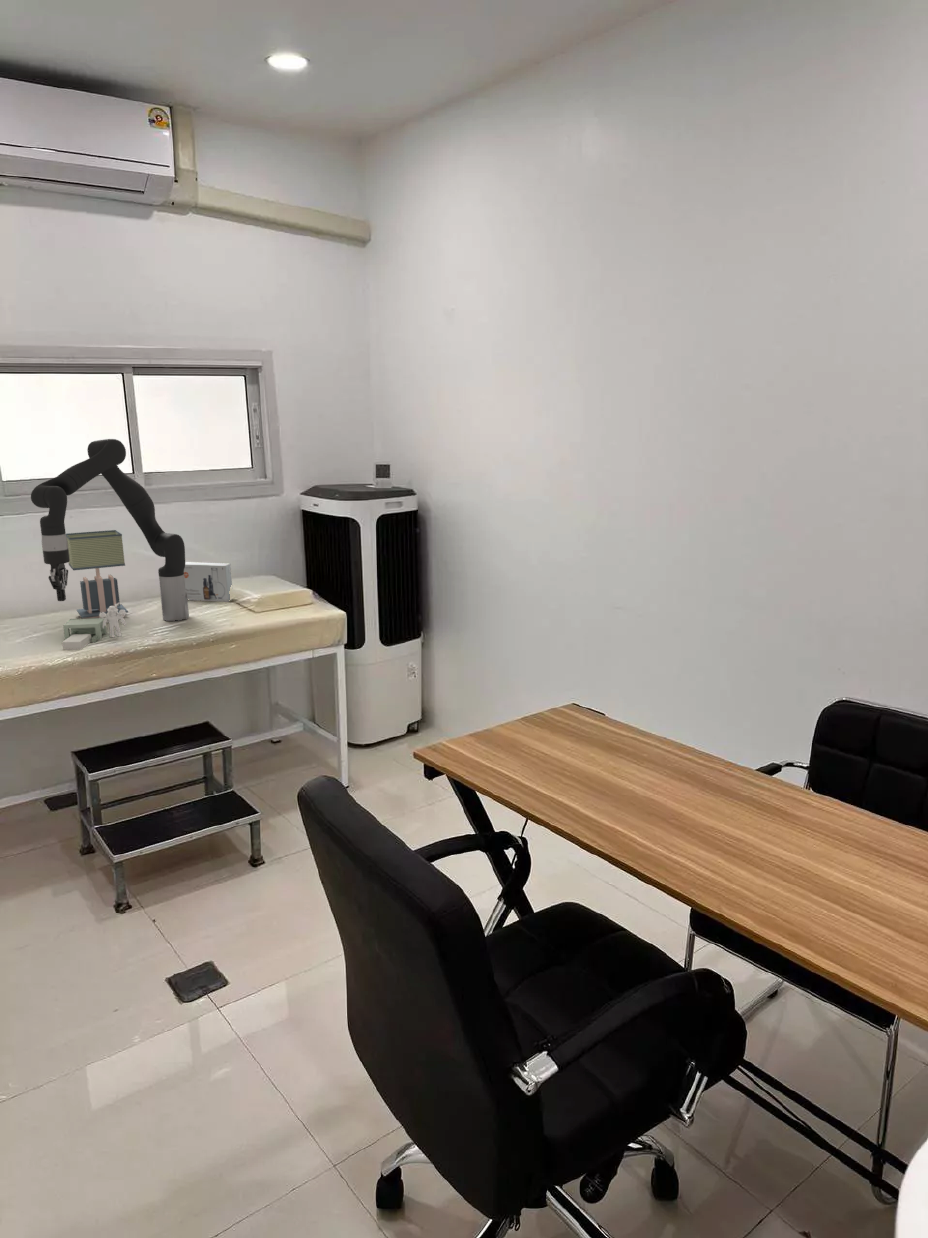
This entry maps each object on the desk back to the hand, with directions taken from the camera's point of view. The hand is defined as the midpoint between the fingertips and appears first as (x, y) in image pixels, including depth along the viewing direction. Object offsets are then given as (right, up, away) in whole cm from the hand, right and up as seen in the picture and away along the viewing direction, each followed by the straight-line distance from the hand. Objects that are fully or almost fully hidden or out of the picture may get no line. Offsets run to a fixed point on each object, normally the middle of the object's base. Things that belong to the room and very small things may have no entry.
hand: (61, 600), depth 270 cm
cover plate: (-2, -15, +15) cm, 21 cm away
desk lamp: (-10, -5, +54) cm, 56 cm away
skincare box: (+22, +2, +82) cm, 85 cm away
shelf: (-3, -13, +23) cm, 27 cm away
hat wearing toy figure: (+7, -12, +26) cm, 29 cm away
